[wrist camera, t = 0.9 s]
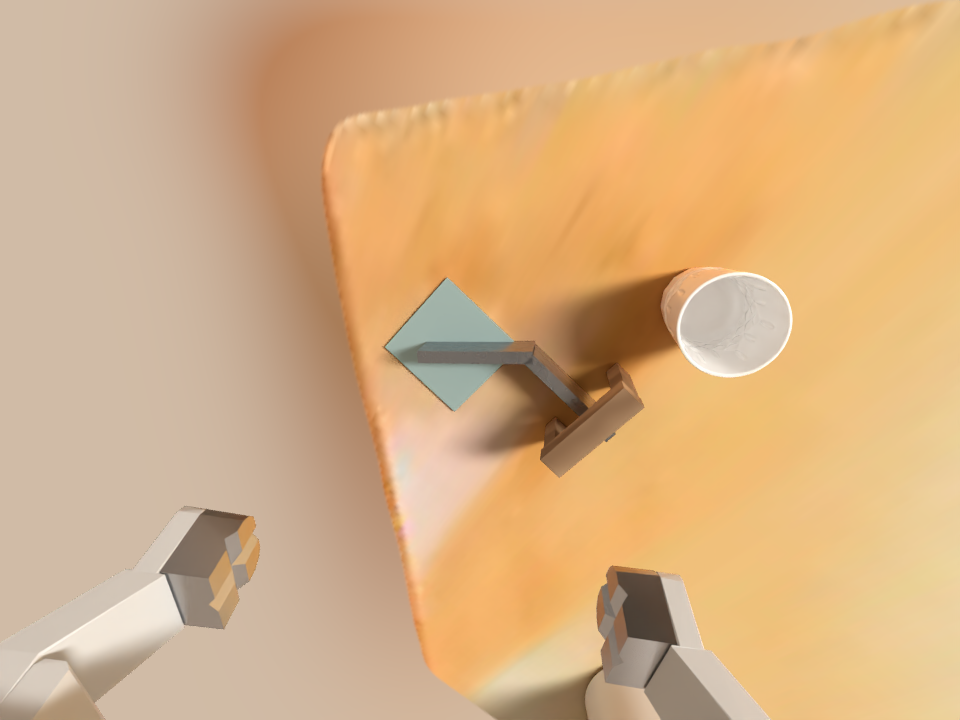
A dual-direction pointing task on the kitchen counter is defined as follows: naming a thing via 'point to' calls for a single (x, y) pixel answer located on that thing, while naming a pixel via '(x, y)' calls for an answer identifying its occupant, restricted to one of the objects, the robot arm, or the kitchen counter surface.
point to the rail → (511, 355)
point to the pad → (447, 321)
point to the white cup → (726, 319)
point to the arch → (591, 424)
